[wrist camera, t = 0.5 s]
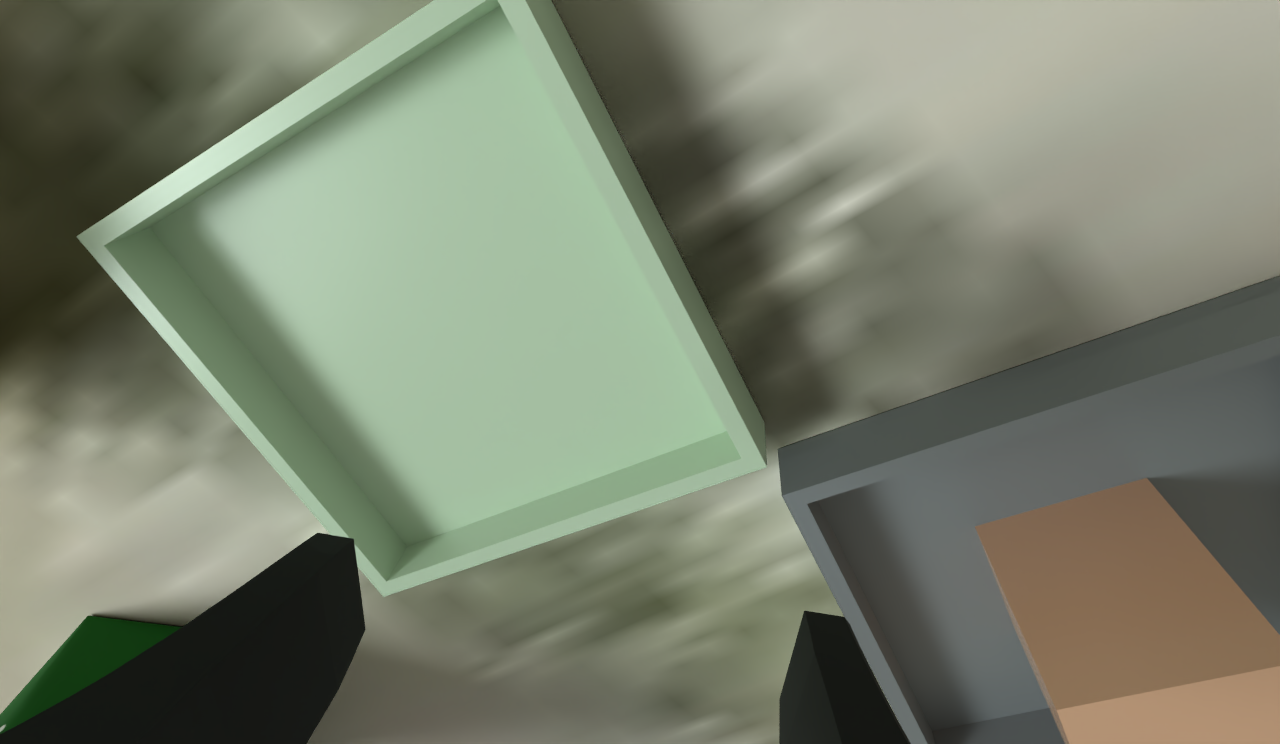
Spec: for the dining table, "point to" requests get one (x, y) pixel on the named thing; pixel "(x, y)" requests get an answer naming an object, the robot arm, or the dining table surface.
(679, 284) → the green tray
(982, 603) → the charcoal tray
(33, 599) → the dining table surface
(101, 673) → the milk carton
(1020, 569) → the terracotta block
